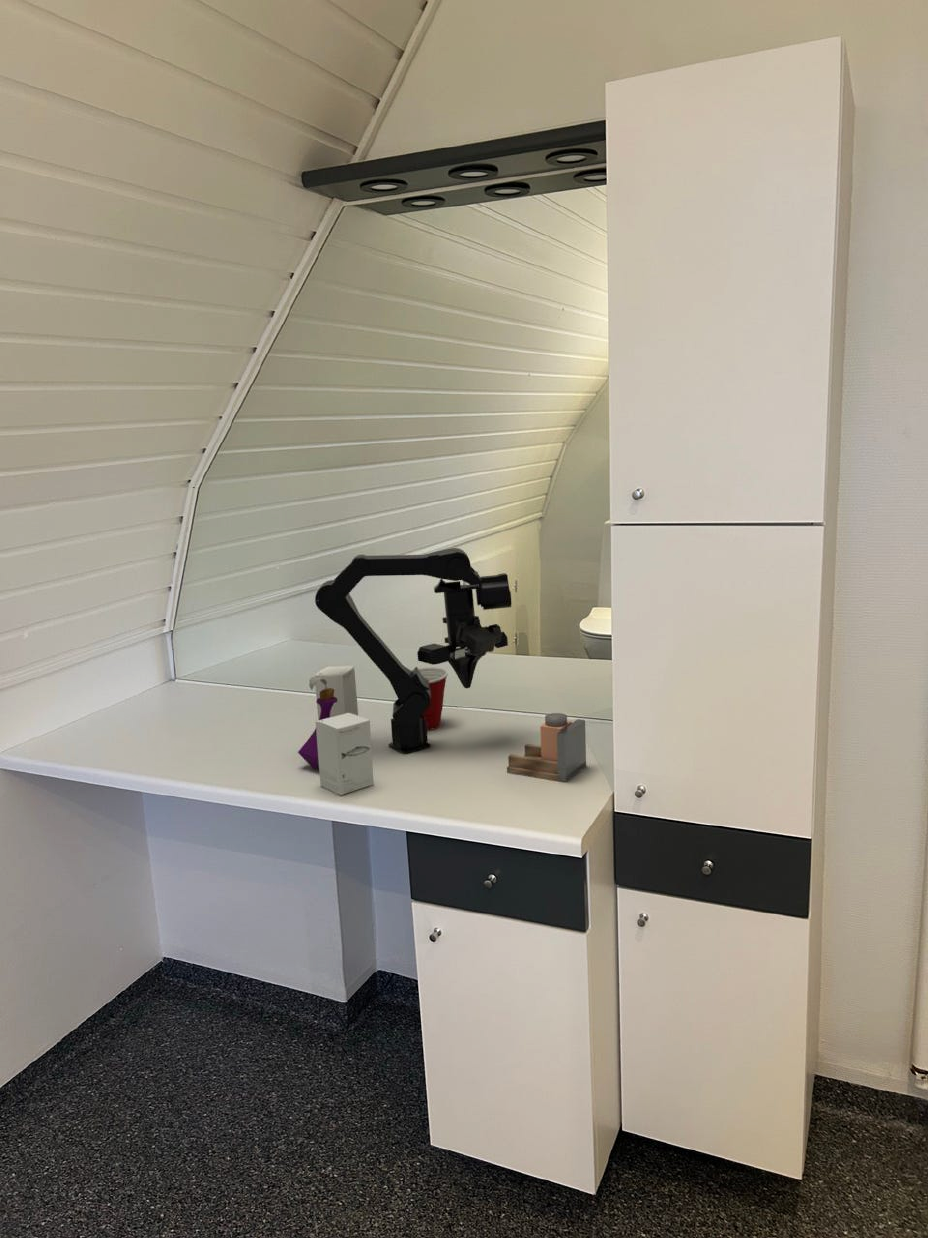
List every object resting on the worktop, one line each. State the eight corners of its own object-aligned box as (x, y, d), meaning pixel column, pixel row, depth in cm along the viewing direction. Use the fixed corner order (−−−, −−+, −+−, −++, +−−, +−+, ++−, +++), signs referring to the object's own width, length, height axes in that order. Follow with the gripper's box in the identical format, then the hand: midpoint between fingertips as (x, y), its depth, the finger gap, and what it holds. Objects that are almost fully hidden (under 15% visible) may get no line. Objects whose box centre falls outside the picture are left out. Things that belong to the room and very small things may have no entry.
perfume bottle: (327, 756, 188) (320, 669, 184) (353, 763, 183) (346, 674, 179) (298, 768, 182) (291, 678, 179) (324, 775, 177) (317, 683, 174)
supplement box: (340, 796, 167) (335, 728, 164) (319, 786, 172) (314, 720, 170) (375, 785, 171) (370, 719, 169) (353, 775, 177) (348, 711, 174)
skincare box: (348, 749, 192) (343, 675, 189) (318, 748, 193) (312, 675, 190) (361, 735, 200) (356, 664, 197) (331, 735, 201) (326, 664, 198)
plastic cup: (391, 727, 205) (387, 674, 202) (429, 715, 212) (426, 664, 209) (422, 737, 197) (419, 682, 194) (461, 725, 204) (458, 672, 201)
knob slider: (541, 767, 173) (540, 718, 171) (553, 759, 177) (552, 711, 175) (561, 771, 171) (560, 721, 169) (572, 762, 175) (571, 713, 173)
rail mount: (507, 772, 175) (505, 726, 173) (529, 757, 182) (527, 712, 180) (565, 782, 168) (564, 734, 167) (586, 766, 176) (585, 720, 174)
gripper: (444, 626, 174) (452, 706, 178) (522, 607, 185) (528, 683, 188) (412, 619, 183) (420, 696, 187) (487, 602, 194) (494, 675, 197)
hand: (467, 687), depth 189 cm, fingers closed
